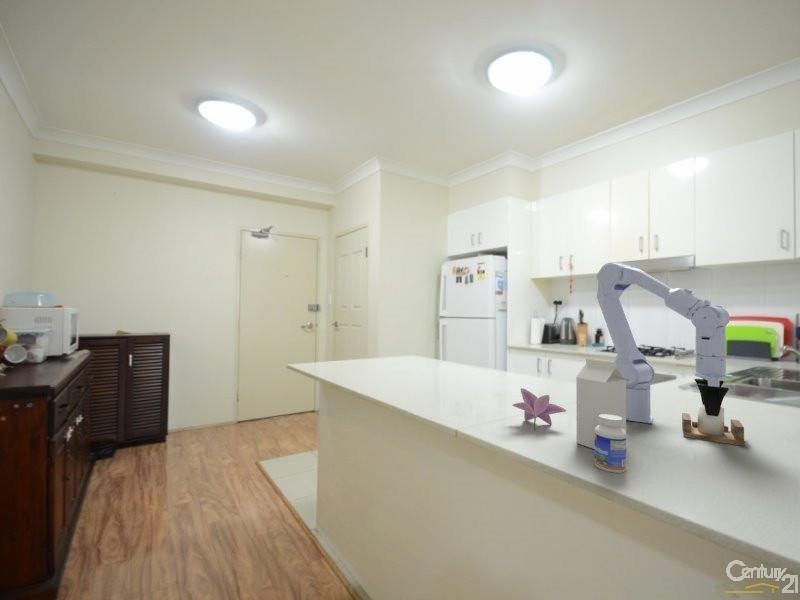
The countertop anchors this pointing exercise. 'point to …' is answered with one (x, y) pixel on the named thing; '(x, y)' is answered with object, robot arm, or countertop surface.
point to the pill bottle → (610, 444)
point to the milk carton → (598, 397)
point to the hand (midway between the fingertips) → (710, 411)
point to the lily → (537, 407)
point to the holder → (729, 436)
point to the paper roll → (710, 422)
